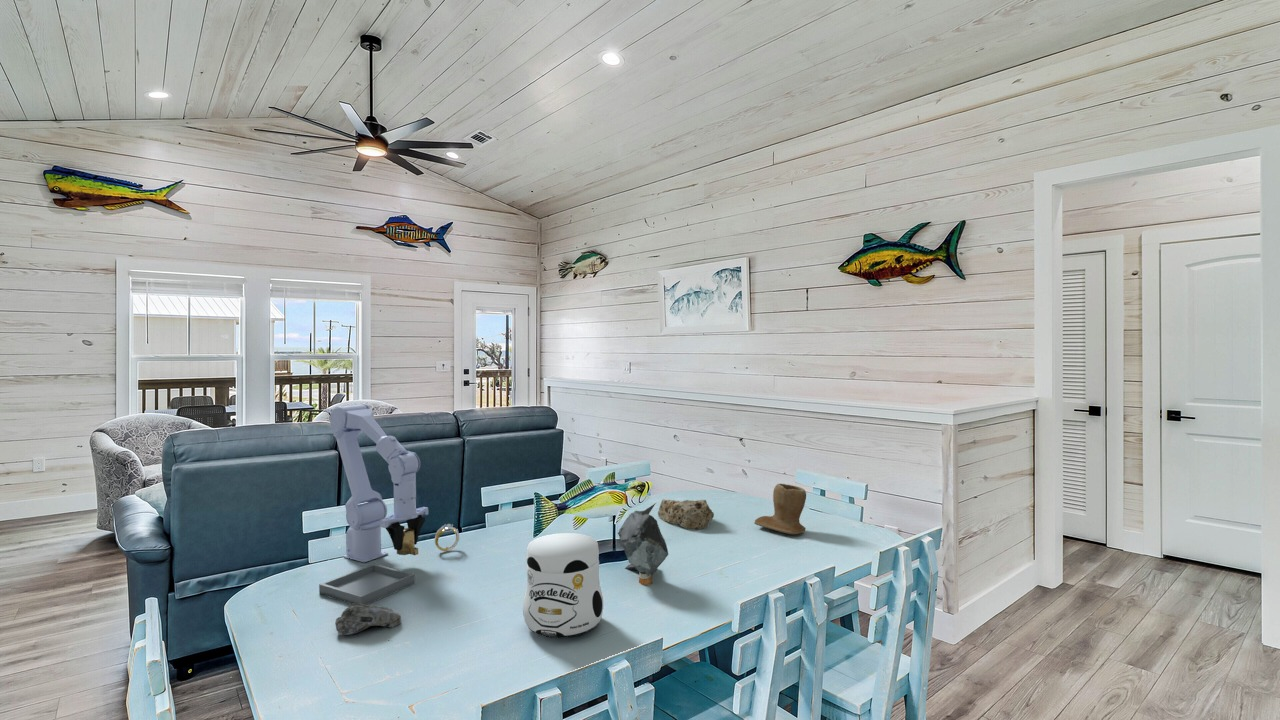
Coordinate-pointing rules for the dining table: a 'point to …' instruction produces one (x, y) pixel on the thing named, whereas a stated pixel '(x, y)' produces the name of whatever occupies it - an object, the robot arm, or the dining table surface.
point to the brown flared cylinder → (785, 510)
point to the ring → (445, 528)
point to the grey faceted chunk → (643, 544)
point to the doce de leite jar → (562, 585)
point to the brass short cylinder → (408, 543)
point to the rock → (686, 513)
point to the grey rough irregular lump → (365, 618)
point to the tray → (367, 584)
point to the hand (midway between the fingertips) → (405, 546)
